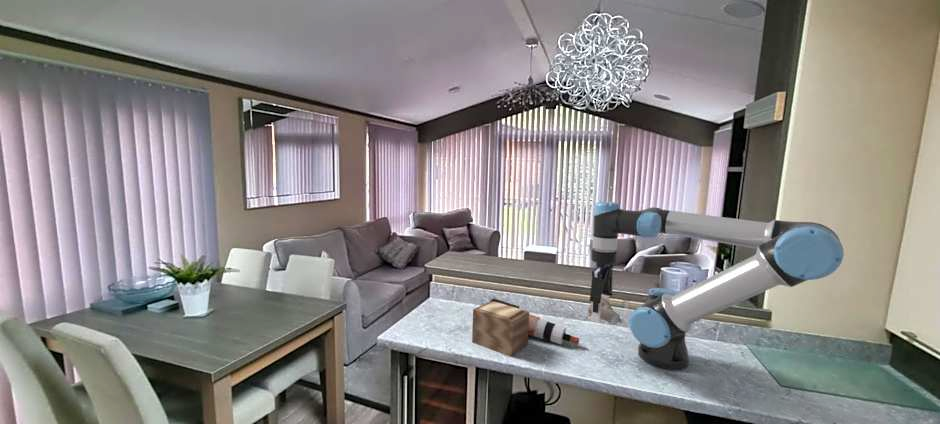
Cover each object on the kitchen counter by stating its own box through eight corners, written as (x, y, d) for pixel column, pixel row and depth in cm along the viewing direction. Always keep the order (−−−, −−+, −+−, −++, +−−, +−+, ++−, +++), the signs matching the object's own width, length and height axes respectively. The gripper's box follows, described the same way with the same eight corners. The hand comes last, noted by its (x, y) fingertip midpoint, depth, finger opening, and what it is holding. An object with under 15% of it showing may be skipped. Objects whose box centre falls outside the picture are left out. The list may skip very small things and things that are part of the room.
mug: (613, 330, 120) (598, 299, 122) (594, 331, 128) (580, 303, 130) (629, 320, 123) (615, 290, 125) (610, 322, 132) (596, 294, 133)
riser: (527, 344, 135) (529, 310, 134) (511, 356, 127) (512, 320, 125) (489, 331, 145) (490, 299, 143) (472, 342, 136) (473, 307, 135)
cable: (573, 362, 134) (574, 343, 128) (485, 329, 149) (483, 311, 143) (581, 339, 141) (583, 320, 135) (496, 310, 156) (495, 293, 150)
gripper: (603, 243, 136) (599, 306, 138) (581, 253, 120) (577, 324, 122) (625, 246, 131) (620, 311, 134) (605, 257, 115) (600, 330, 118)
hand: (599, 317), depth 128 cm, fingers closed on mug, 7 cm apart
